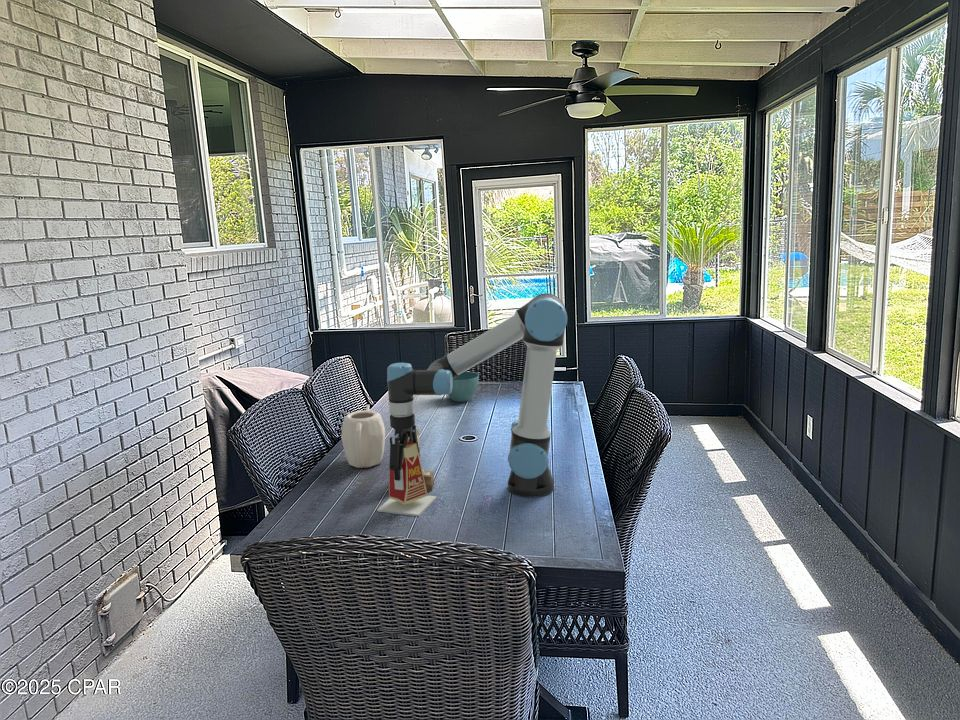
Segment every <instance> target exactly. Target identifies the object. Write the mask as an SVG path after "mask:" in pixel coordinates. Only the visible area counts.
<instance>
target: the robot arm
mask: <svg viewBox="0 0 960 720" xmlns="http://www.w3.org/2000/svg"><path fill="white" fill-rule="evenodd" d="M567 324H568V312H567V310H566V306H565V304H564V302H563V301H562V300H561V298H559V297H558V296H557V295H555V294H553V293H541V294H538V295H536V296H534V297H533V298H532V299H531V300H529V301H528V302H527V303H525V304H524V305H522V306H521V307H519V308H518V309H516V310H515V312H514V315H512V316H510V317H509V318H507V319H506V320H504V321H502V322H500V323H499V324H496V326H493V327H492V328H490V329H488V330H487V331H485V332H483V333H482V334H480V335H478V336H476V337H474V338H473V339H471V340H469V341H468V342H467V343H465V344H463V345H462V346H459V347H457V348H455V350H453V351H451V352H450V353H448V354H447V355H445V356H443V357H441V358H438V359H436V360H434V361H432V362H431V363H430V364H429V366H428V368H427V369H424V370H423V369H422V370H420V369H419V370H415V369H413V366H412V364H411V363H408V362H396V363H391V364H390V365H389V366H387V370H386V371H387V372H386V375H387V376H386V378H387V379H386V381H387V382H386V383H387V393H388V406H389V414H390V415H389V424H390V428H392V429H394V434H393V435H394V436H393V437H392V436H390V438H389V447H390V449H389V465H388V467H389V469H390V470H394V483H395V489H397V490H404V481H403V469H401V466H402V459H403V452H404V448H405V447H406V442H407V439H408V437H410V439H409V441H411V442H414V443H416V445H417V449H418V453H419V446H418V440H417V435H416V429H417V426H416V420H415V401H414V396H447V395H448V394H450V393H451V392H452V387H453V378H455V377H457V376H458V375H460V374H461V373H463V372H468V370H471V369H472V368H473V367H475V366H477V365H479V364H481V363H482V362H484V361H486V360H488V359H490V358H491V357H493V356H494V355H496V354H498V353H500V352H502V351H503V350H505V349H508V347H511V346H512V345H514V344H515V343H517V342H519V341H521V340H522V341H523V343H524V344H525V346H526V354H525V355H526V356H525V365H524V373H523V381H522V389H521V396H520V406H519V414H518V420H514V421H513V422H511V425H510V426H511V428H510V431H511V433H510V434H511V438H510V443H509V444H510V445H509V452H508V456H507V462H508V466H509V468H510V473H509V476H508V479H507V490H508V493H511V494H512V495H514V496H518V497H522V498H537V497H544V496H547V495H549V494H551V493H553V491H554V489H555V482H554V479H553V475H552V473H551V470H550V467H549V452H550V451H549V450H550V442H551V435H552V434H551V431H550V430H549V428H548V420H549V419H548V418H549V411H550V404H551V397H552V396H551V395H552V390H553V389H552V388H553V381H554V374H555V365H556V358H557V351H558V350H559V349H560V348H561V347H563V345H564V338H565V330H566V327H567ZM399 444H403V445H399Z"/></svg>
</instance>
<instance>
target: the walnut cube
mask: <svg viewBox="0 0 960 720" xmlns="http://www.w3.org/2000/svg"><path fill="white" fill-rule="evenodd" d="M422 472H423V476H424V480H425V485H426V489H427V492H430V491H431V492H433V488H434V486H435V479H434V478H435V475H434V474H435V473H434V470H426V471H422Z"/></svg>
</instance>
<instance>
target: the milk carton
mask: <svg viewBox="0 0 960 720" xmlns="http://www.w3.org/2000/svg"><path fill="white" fill-rule="evenodd" d="M409 439H410V437H408V439H407V442H406V447H405V448H404V452H403V459H402V466H401V469H403V481H404V490H397V489H395V483H394V470H390V469H389V474H388V475H389V476H388V477H389V478H388V486H389V491H388V499H393V500H396V501H399V502H401V503H402V504H404V505H405V504H408V503H411V502H413V501H416V500H418V499H421V498H423V497H426V496H428V491H427V489H426V485H425V480H424V476H423V472H422V469H423V468H422V462H421V463H420V460H421V457H420V458H419V454H418V449H417V445H416V443H414V442H411V441H409ZM399 445H403V444H399Z"/></svg>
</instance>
